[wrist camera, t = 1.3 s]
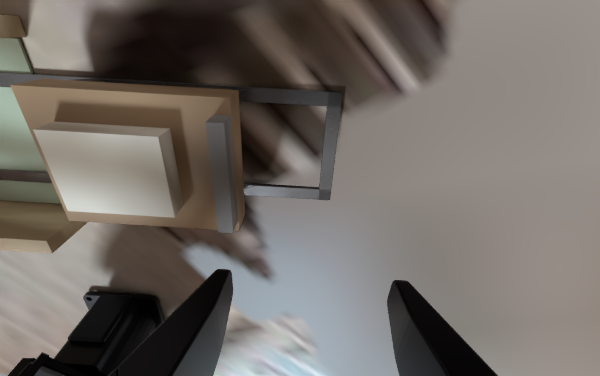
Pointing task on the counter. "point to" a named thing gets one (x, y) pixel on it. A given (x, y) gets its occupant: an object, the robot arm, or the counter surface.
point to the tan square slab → (139, 151)
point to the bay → (25, 165)
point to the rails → (245, 94)
